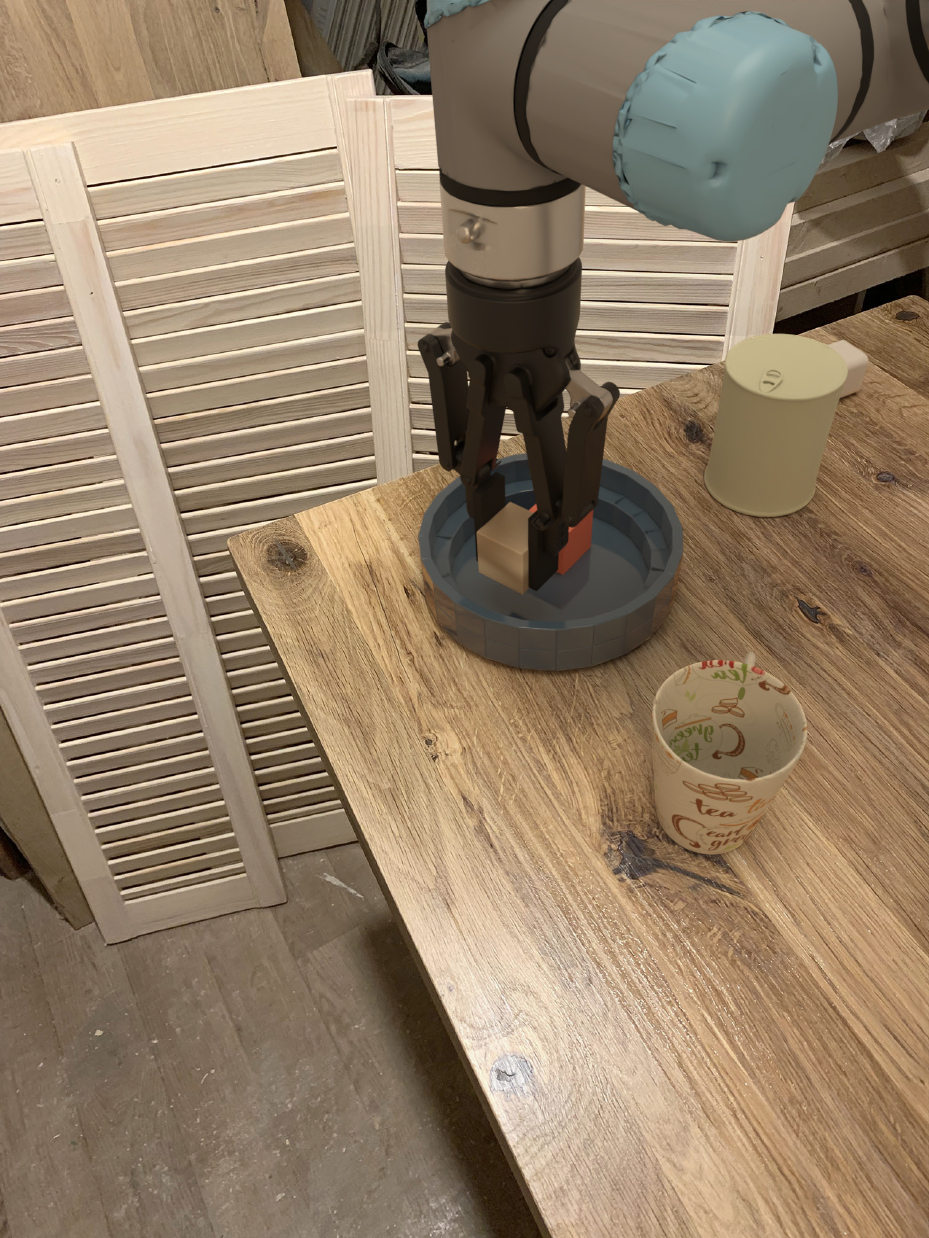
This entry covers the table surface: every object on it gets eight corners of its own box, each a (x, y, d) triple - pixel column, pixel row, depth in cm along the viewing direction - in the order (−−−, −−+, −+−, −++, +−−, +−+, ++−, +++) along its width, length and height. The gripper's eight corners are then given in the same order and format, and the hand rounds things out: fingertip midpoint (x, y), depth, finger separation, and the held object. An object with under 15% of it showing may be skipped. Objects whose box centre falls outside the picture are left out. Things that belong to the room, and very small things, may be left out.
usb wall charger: (858, 394, 87) (870, 357, 84) (800, 416, 85) (809, 379, 83) (829, 374, 90) (839, 337, 87) (772, 395, 88) (780, 358, 85)
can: (685, 494, 79) (705, 371, 70) (730, 438, 84) (754, 316, 75) (790, 532, 75) (824, 406, 66) (831, 470, 80) (868, 346, 71)
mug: (622, 848, 57) (635, 755, 49) (669, 695, 65) (687, 595, 57) (760, 891, 54) (796, 800, 47) (792, 727, 62) (827, 627, 55)
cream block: (554, 563, 68) (555, 522, 65) (522, 595, 66) (522, 554, 63) (510, 542, 70) (510, 501, 67) (478, 572, 68) (475, 531, 65)
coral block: (591, 546, 74) (593, 508, 71) (562, 575, 72) (564, 537, 69) (549, 527, 76) (550, 489, 73) (521, 555, 74) (520, 517, 71)
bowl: (721, 558, 73) (731, 510, 70) (584, 719, 64) (588, 673, 60) (520, 470, 82) (520, 424, 79) (373, 600, 72) (365, 554, 69)
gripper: (352, 245, 52) (395, 547, 69) (609, 333, 45) (586, 648, 62) (436, 196, 56) (457, 494, 73) (687, 269, 48) (645, 583, 66)
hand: (516, 564), depth 68 cm, fingers closed on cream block, 4 cm apart
